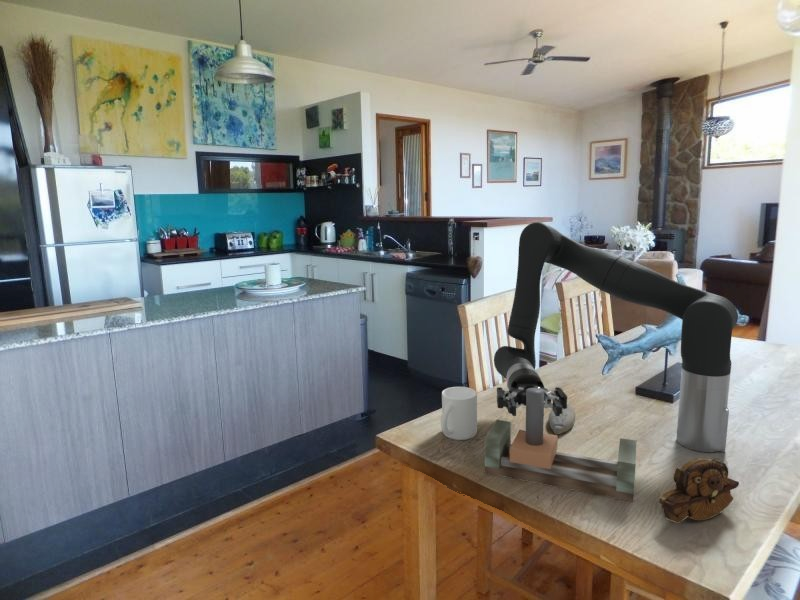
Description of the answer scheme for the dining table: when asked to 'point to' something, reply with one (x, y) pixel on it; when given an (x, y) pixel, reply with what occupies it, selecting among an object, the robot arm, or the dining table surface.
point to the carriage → (534, 435)
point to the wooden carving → (698, 491)
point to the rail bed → (565, 467)
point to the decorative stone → (562, 420)
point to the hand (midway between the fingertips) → (536, 411)
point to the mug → (459, 413)
